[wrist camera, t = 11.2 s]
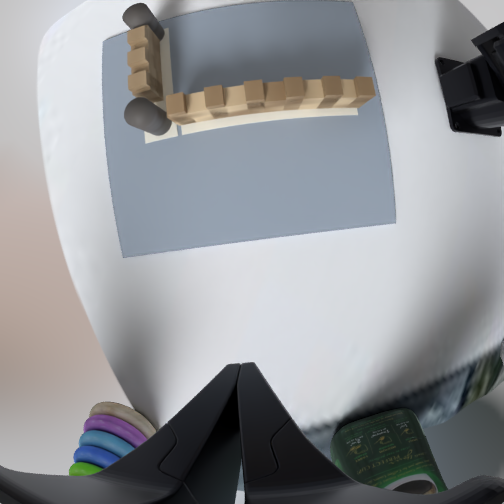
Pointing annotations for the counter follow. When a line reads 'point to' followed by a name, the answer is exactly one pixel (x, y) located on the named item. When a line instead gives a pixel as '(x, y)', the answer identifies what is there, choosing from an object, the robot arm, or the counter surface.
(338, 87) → the folding fence panel
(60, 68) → the counter surface
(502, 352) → the salt shaker
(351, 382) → the counter surface
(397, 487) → the coffee jar
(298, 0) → the card
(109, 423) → the stacking toy
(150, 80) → the fixed fence section
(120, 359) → the counter surface
